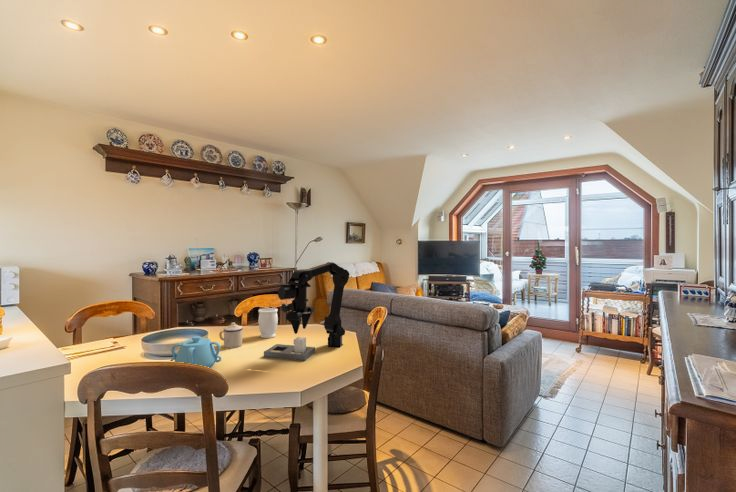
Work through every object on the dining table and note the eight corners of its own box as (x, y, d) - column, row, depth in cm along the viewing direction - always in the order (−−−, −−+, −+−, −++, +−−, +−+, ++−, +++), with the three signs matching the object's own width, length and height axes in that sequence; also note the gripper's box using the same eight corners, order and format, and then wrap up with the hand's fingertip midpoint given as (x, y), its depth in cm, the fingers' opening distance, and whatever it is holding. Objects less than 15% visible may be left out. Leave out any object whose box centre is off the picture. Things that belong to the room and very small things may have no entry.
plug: (305, 354, 160) (306, 337, 160) (302, 357, 156) (302, 339, 156) (296, 353, 161) (296, 336, 161) (292, 356, 157) (292, 339, 157)
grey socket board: (315, 353, 163) (315, 347, 163) (305, 362, 151) (305, 355, 151) (276, 350, 167) (276, 343, 167) (263, 358, 156) (263, 351, 156)
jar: (274, 339, 186) (274, 311, 186) (255, 338, 186) (255, 311, 186) (279, 333, 197) (280, 307, 196) (262, 333, 197) (262, 307, 197)
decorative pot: (224, 369, 142) (225, 336, 142) (183, 380, 130) (184, 345, 130) (206, 360, 153) (207, 329, 153) (167, 370, 141) (167, 337, 140)
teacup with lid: (245, 343, 177) (246, 321, 177) (236, 349, 169) (236, 325, 168) (224, 342, 179) (224, 320, 179) (214, 347, 170) (214, 324, 170)
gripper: (293, 293, 169) (292, 325, 169) (274, 299, 151) (274, 335, 151) (314, 294, 167) (313, 326, 167) (298, 301, 148) (297, 336, 149)
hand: (300, 331), depth 158 cm, fingers open, 9 cm apart
